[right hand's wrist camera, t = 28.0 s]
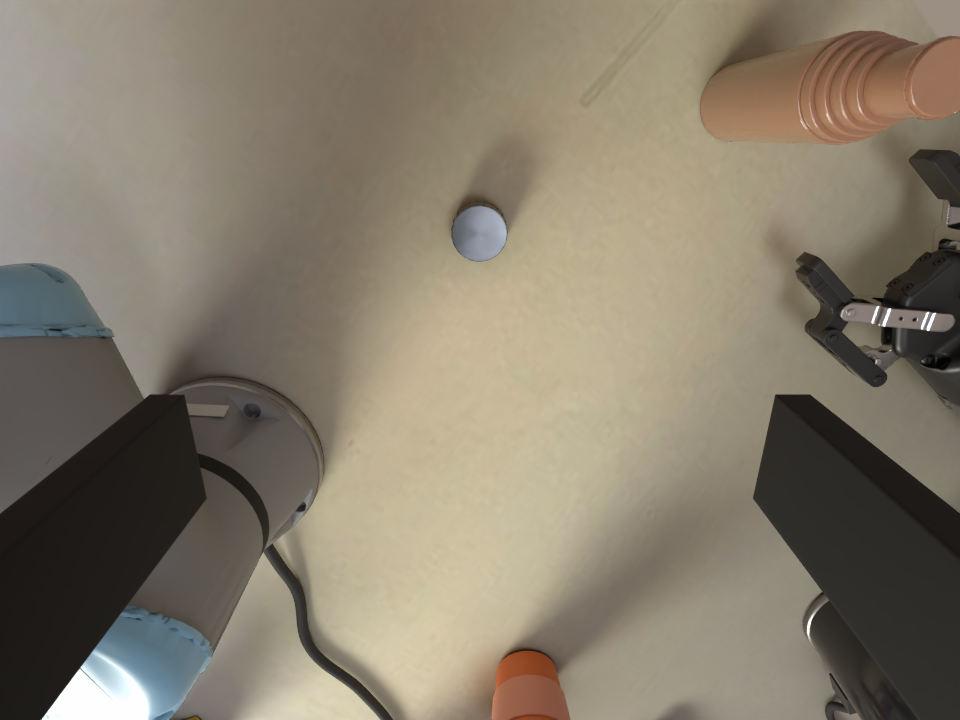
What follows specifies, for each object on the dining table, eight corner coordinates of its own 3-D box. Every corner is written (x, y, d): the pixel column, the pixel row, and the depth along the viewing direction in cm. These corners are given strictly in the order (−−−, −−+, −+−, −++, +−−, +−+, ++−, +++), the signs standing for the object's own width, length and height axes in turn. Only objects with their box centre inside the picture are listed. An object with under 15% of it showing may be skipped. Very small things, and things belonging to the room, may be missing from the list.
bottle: (687, 125, 39) (854, 120, 22) (722, 51, 38) (933, -21, 20) (749, 151, 40) (960, 166, 22) (786, 79, 38) (1046, 33, 21)
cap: (466, 264, 43) (465, 271, 41) (443, 215, 42) (441, 220, 40) (514, 242, 42) (516, 248, 40) (492, 191, 41) (493, 194, 39)
